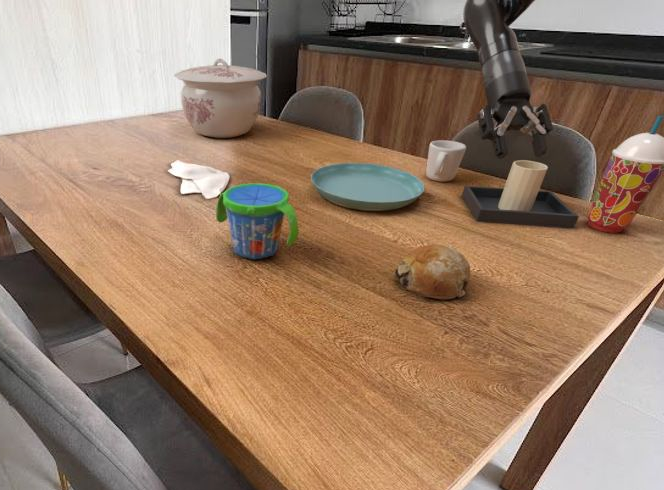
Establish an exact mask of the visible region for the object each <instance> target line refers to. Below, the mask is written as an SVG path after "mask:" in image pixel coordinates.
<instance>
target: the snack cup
mask: <svg viewBox="0 0 664 490" xmlns="http://www.w3.org/2000/svg"><path fill="white" fill-rule="evenodd" d="M289 201H290V194H289V192H288V191H287V190H286V189H284V188H282V187H280V186H279V185H274V184H270V183H261V182H260V183H259V182H258V183H257V182H256V183H255V182H254V183H253V182H252V183H241V184H238V185H234V186H231V187H229V188H228V189H226V190H225V191H223V192H221V195H218V199H217V203H216V212H215V217H216V221H217V222H218V223H220V224H221V223H224V222H225V221H227V220H228V227H229V232H230V237H231V244H232V248H233V251H234V253H235V254H236V255H238V256H240V257H242V258H245V259H246V258H248V259H249V260H253V261H254V260H261V259H266V258H269V257H273V256H274V255H275V253H276V251H277V249H278V247H279V242H280V237H281V232H282V228H283V223H284V218H285V217H286V218H287V222H288V227H289V233H288V236H287V241H286V246H288V247H290V246H292V245H294V244H295V243H296V241H297V240H298V237H299V221H298V218H297V214H296V211H295V209H294V207H293V206H292V205H291V204H290V203H289Z"/></svg>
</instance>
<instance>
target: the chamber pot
mask: <svg viewBox="0 0 664 490" xmlns="http://www.w3.org/2000/svg"><path fill="white" fill-rule="evenodd" d="M173 75H174V77H175V78H176V79H178V80H180V81H182V83H183V86H182V89H181V91H180V103H181V107H182V110H183V111H182V112H183V115H184V117H185V119H186V120H187V122H188V123H189V125H190V127H191V128H192V129H193V130H194V132H196V133H197V134H199V135H202V136H204V137H207V138H212V139H231V138H237V137H240V136H242V135H246V133H248V132H249V131H250V130H251V129H252V128H253V126H254V124H255V122H256V121H257V119H258V118H259V114H260V110H261V104H262V91H261V88H260V86H259V83H260V81H262V80H264V79H266V78H267V76H268V75H267V73H266V72H264V71H261V70H259V69H257V68H251V67H247V66H239V65H231V64H228V63H227V62H226V60H224V59H223V58H217V59H215V61H214V62H213V64H211V65H201V66H194V67H189V68H184V69H182V70H179V71H176V73H174V74H173Z"/></svg>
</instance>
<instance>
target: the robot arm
mask: <svg viewBox="0 0 664 490" xmlns="http://www.w3.org/2000/svg"><path fill="white" fill-rule="evenodd" d="M535 1H536V0H466V1H465V3H464V7H463V12H462V14H463V15H462V17H463V23H464V26H465V29H466V31H467V34H468V36H469V37H470V40H471V42H472V44H473V45H474V47H475V49H476V51H477V54H478V60H479V65H480V69H481V78H482V85H483V89H484V93H485V98H486V102H487V105H485V106H484V107H482V109H481V110H480V111H479V112H478V113H477V114H476V115H477V122H478V129H479V135H480V138H481V140H483V141H485V140H489V142H490V143H492V148H493V152H494V155H495V157H496V159H498V160H501V159H504V158H506V157H507V156H508V154H509V150H508V146H507V145H508V144H507V141H506V136H503V135H504V134H505V132H508V131H512V130H513V131H520V132H521V133H522V134H523V135H527V136H528V138H530V139H531V144H532V149H533V153H534V157H535V158H540V157H543V156H544V155H546V154H547V152H548V145H547V140H546V135H548V134H549V133H551V132H553V130H554V126H553V123H552V120H551V117H550V113H549V110H548V107H547V104H545V103H541V104H540V105H539V106H533V105H532V104H531V102H530V101H531V100H530V99H531V95H532V90H531V89H532V88H531V86H530V81H529V78H528V73H527V69H526V65H525V62H524V59H523V57H522V55H521V54H522V53H521V51H520V46H519V42H518V38H517V35H516V33H515V31H514V30H513V29H512V28H511V27H510V26H511V25H513V23H514V22H515V21H517V20H518V18H519V17H521V15H523V13H524V12H526V11H527V10H528V8H530V6H532V4H534V2H535ZM494 121H495V124H494ZM529 122H530V124H529ZM528 124H529V125H528ZM527 125H528V126H527ZM533 129H534V130H535V131H536V132H535V131H534V130H533Z"/></svg>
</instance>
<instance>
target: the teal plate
mask: <svg viewBox="0 0 664 490" xmlns="http://www.w3.org/2000/svg"><path fill="white" fill-rule="evenodd" d="M310 180H311V183H312V185H313V187H314V189H315V190H316V192H317V193H318V194H319V195H320V196H321V197H323V198H324V199H326V200H327V201H329V202H330V203H333V204H335V205H337V206H339V207H340V206H341V207H343V208H347V209H352V210H356V211H364V212H365V211H366V212H386V211H393V210H398V209H401V208H403V207H406V206H408V205H410V204H412V203H413V202H415V201H416V200H417V199H419V198H420V197H421V196H422V194H423V193H424V192H425V184H424V182H423V181H422V180H421V179H420V178H419V177H417V176H415V175H413V174H412V173H409V172H407V171H404V170H401V169H398V168H394V167H390V166H387V165H381V164H374V163H365V162H361V163H360V162H342V163H334V164H329V165H325V166H321V167H318V168H317V169H315V170H314V171H313V172H312V173H311V175H310Z"/></svg>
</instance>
